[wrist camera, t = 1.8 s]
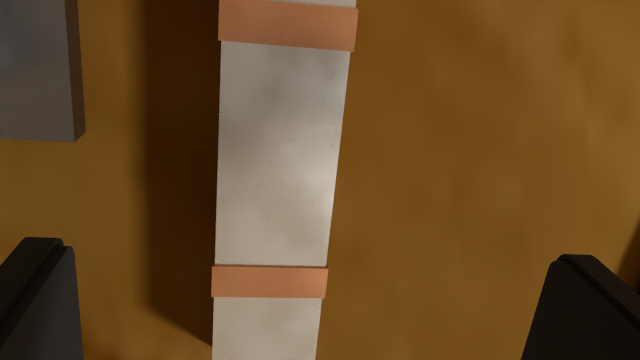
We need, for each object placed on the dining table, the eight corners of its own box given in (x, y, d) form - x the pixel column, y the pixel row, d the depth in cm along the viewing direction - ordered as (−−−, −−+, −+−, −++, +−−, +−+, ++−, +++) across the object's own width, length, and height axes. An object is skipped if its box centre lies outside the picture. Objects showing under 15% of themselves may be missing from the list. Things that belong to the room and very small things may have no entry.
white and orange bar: (301, 349, 28) (311, 415, 24) (214, 349, 27) (208, 418, 23) (355, -175, 20) (385, -217, 15) (231, -194, 19) (225, -242, 15)
